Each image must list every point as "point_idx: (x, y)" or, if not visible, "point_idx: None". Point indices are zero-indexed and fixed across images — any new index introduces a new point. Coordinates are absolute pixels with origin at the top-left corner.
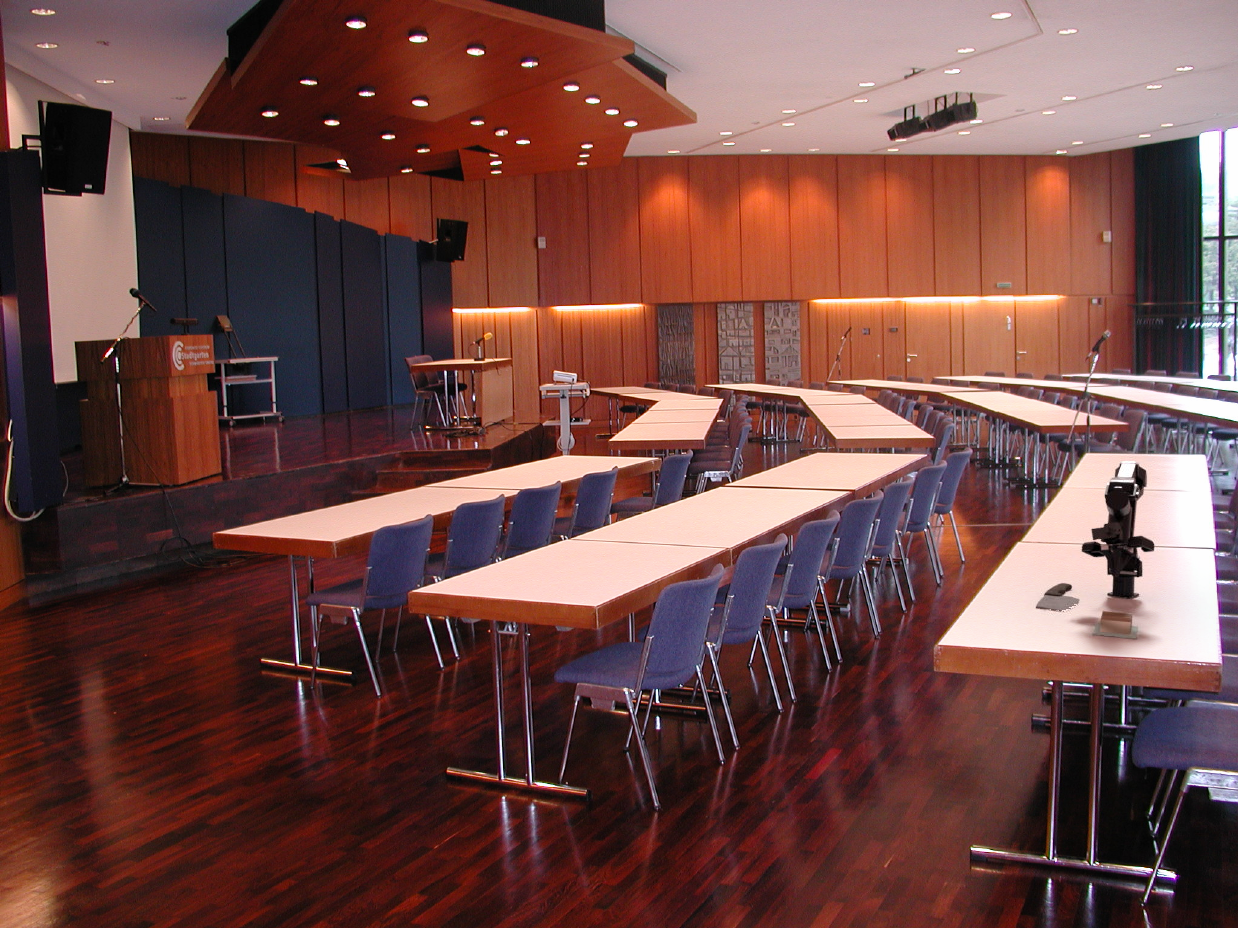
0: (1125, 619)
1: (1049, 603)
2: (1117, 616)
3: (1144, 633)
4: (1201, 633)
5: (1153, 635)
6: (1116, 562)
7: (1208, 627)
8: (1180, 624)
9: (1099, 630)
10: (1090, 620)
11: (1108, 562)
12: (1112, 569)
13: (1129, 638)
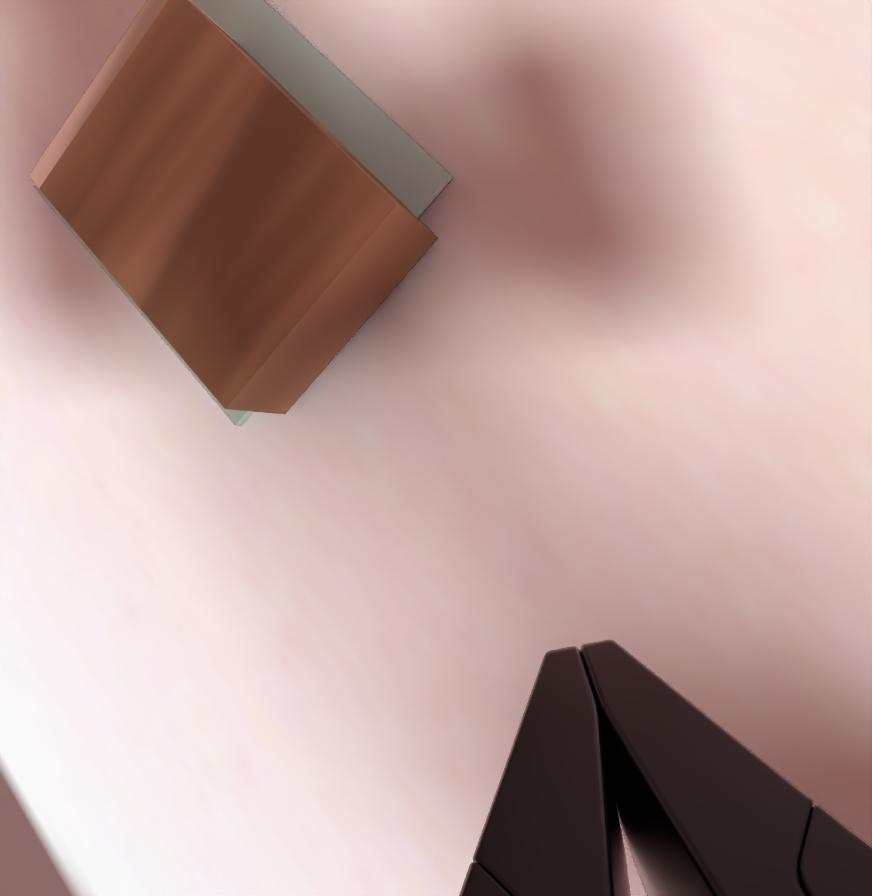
0: (109, 206)
1: None
2: (198, 205)
3: (118, 347)
4: (5, 705)
5: (67, 368)
6: (503, 885)
7: (81, 892)
8: (197, 796)
9: (252, 48)
10: (558, 196)
11: (861, 855)
12: (625, 717)
13: None
